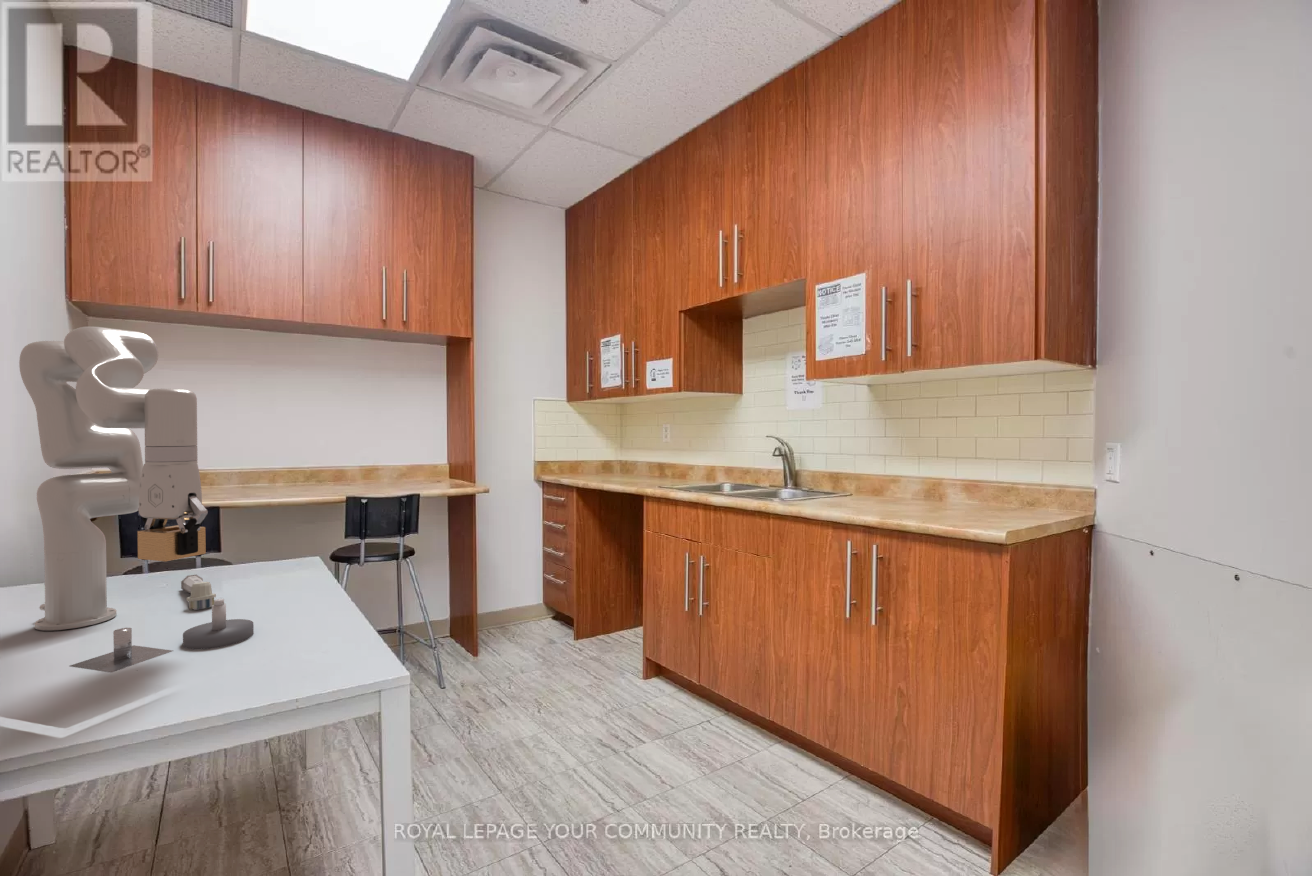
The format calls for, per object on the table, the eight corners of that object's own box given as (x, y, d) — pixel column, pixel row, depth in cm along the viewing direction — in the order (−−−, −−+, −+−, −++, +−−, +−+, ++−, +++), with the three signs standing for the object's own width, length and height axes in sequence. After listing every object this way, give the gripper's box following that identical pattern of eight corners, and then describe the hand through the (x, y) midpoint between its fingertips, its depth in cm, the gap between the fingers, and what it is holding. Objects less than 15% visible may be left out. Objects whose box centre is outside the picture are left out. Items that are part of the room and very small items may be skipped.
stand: (68, 671, 102) (68, 636, 102) (133, 650, 111) (133, 618, 111) (111, 678, 99) (110, 642, 99) (173, 656, 109) (173, 623, 109)
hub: (168, 651, 111) (167, 605, 111) (224, 631, 122) (224, 590, 122) (213, 657, 108) (212, 610, 108) (267, 636, 119) (266, 594, 119)
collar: (137, 558, 108) (137, 531, 107) (178, 551, 114) (178, 525, 114) (165, 561, 106) (165, 533, 105) (205, 553, 112) (205, 527, 112)
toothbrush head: (202, 572, 156) (216, 577, 138) (203, 598, 156) (217, 606, 138) (177, 576, 153) (188, 581, 134) (178, 602, 152) (188, 611, 134)
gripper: (115, 456, 109) (116, 553, 109) (184, 457, 104) (185, 559, 104) (160, 454, 116) (161, 545, 116) (227, 456, 111) (227, 551, 111)
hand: (172, 551), depth 110 cm, fingers closed on collar, 7 cm apart
